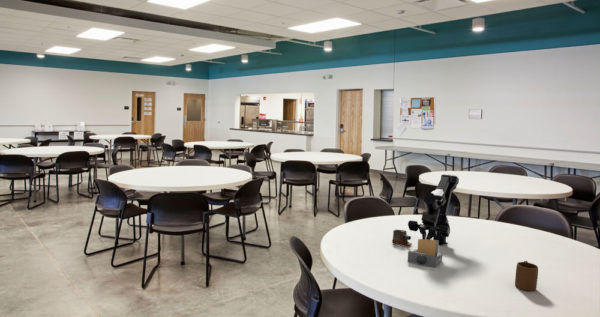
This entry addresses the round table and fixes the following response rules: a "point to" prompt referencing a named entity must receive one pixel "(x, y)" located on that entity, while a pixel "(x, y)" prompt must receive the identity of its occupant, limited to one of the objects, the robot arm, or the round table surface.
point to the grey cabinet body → (424, 259)
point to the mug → (526, 276)
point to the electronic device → (401, 238)
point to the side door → (428, 247)
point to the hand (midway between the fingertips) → (424, 243)
